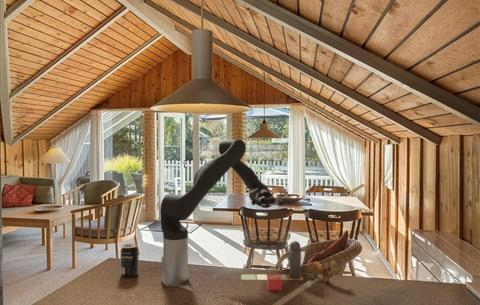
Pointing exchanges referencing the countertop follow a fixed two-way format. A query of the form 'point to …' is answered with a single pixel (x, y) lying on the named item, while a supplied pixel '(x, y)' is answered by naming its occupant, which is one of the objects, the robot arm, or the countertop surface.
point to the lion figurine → (325, 270)
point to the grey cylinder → (295, 260)
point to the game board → (264, 277)
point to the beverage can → (129, 260)
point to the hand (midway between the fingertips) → (270, 203)
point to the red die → (274, 282)
